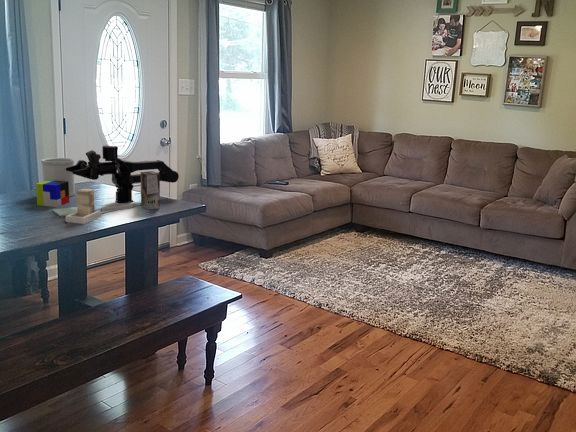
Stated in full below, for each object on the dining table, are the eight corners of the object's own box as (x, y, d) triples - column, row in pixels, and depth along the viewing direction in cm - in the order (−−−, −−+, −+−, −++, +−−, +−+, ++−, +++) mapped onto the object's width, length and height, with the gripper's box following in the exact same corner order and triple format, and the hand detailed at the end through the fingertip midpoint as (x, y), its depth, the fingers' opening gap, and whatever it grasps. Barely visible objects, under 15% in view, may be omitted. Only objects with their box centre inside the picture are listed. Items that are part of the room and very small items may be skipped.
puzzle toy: (57, 207, 268) (56, 185, 265) (37, 205, 270) (35, 183, 267) (69, 202, 277) (68, 181, 275) (50, 200, 279) (48, 179, 277)
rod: (130, 208, 273) (130, 204, 273) (132, 208, 272) (132, 205, 272) (101, 211, 265) (100, 207, 265) (102, 212, 264) (102, 208, 263)
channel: (83, 214, 257) (82, 209, 256) (100, 216, 255) (100, 210, 254) (65, 221, 244) (65, 216, 243) (84, 223, 242) (83, 218, 242)
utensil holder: (39, 193, 292) (37, 158, 288) (70, 190, 301) (68, 156, 297) (48, 199, 281) (46, 162, 277) (80, 196, 290) (78, 160, 286)
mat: (77, 208, 267) (77, 206, 267) (86, 213, 259) (86, 212, 259) (52, 210, 261) (52, 209, 260) (60, 216, 252) (60, 215, 252)
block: (84, 216, 254) (83, 188, 251) (94, 217, 253) (93, 189, 250) (77, 218, 250) (76, 191, 247) (88, 220, 249) (87, 192, 246)
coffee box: (160, 208, 273) (160, 174, 269) (146, 209, 270) (146, 174, 266) (154, 204, 281) (153, 170, 277) (140, 205, 277) (140, 171, 273)
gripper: (95, 148, 279) (61, 150, 270) (110, 154, 265) (75, 156, 255) (96, 171, 282) (62, 174, 272) (111, 178, 268) (76, 181, 258)
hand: (69, 170), depth 265 cm, fingers open, 9 cm apart
